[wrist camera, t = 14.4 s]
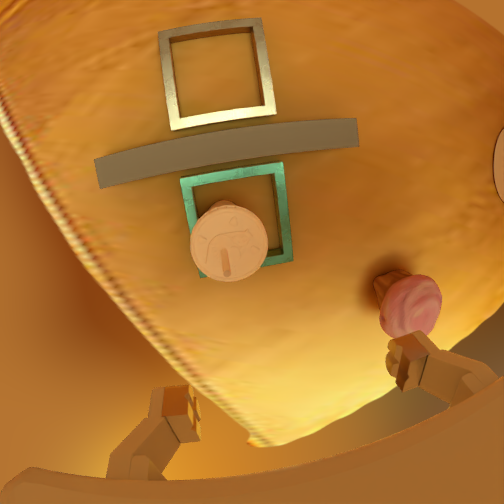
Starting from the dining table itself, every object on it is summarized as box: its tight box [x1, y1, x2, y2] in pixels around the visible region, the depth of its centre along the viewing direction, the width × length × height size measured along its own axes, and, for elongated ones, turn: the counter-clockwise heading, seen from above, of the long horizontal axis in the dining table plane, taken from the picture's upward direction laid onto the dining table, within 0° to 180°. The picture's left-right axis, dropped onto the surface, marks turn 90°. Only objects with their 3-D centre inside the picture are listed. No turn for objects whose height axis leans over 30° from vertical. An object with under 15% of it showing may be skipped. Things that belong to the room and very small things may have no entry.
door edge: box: [94, 118, 359, 189], centre depth 29 cm, size 26×3×4 cm, turn 98°
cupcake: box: [373, 269, 442, 338], centre depth 35 cm, size 9×9×10 cm
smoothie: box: [190, 200, 268, 282], centre depth 27 cm, size 6×6×14 cm
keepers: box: [158, 18, 293, 278], centre depth 30 cm, size 10×27×2 cm, turn 8°
